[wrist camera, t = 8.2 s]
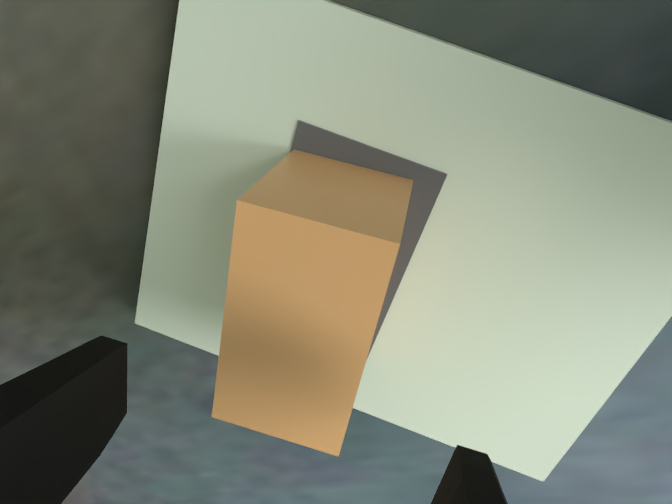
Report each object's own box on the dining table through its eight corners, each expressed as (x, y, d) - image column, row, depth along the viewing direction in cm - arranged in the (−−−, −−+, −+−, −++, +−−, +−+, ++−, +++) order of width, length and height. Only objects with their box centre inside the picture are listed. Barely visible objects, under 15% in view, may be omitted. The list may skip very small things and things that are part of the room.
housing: (413, 180, 16) (400, 244, 12) (363, 354, 19) (338, 456, 15) (293, 149, 16) (236, 199, 12) (264, 326, 20) (211, 416, 15)
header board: (764, 153, 15) (869, 200, 11) (538, 458, 21) (557, 551, 18) (203, -44, 16) (127, -62, 12) (149, 308, 22) (89, 368, 18)
